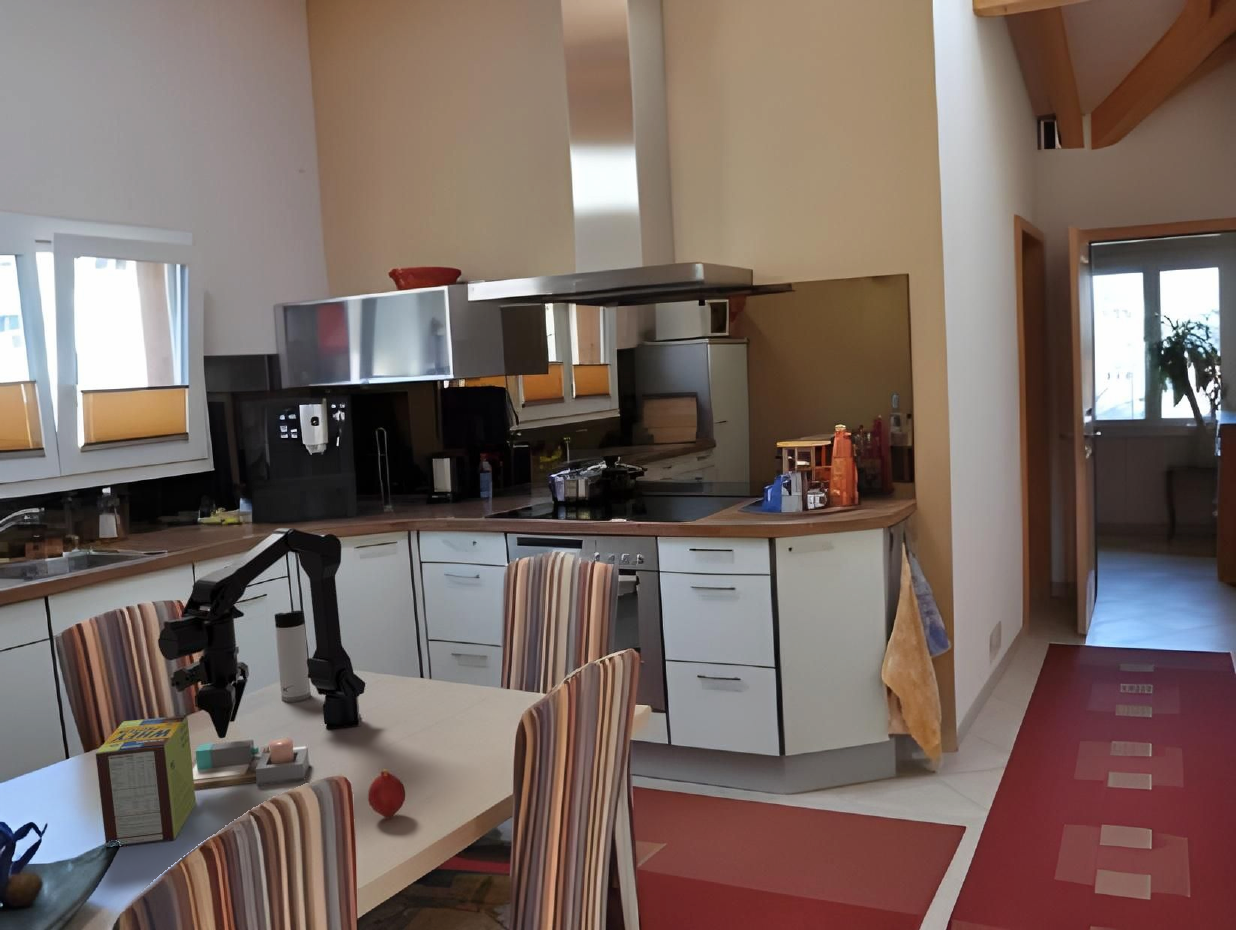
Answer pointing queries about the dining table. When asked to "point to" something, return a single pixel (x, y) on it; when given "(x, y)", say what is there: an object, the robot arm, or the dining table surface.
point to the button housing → (282, 769)
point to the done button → (281, 751)
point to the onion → (386, 794)
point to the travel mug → (292, 656)
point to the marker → (225, 754)
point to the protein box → (146, 780)
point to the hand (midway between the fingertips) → (227, 729)
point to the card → (299, 748)
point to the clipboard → (227, 773)
